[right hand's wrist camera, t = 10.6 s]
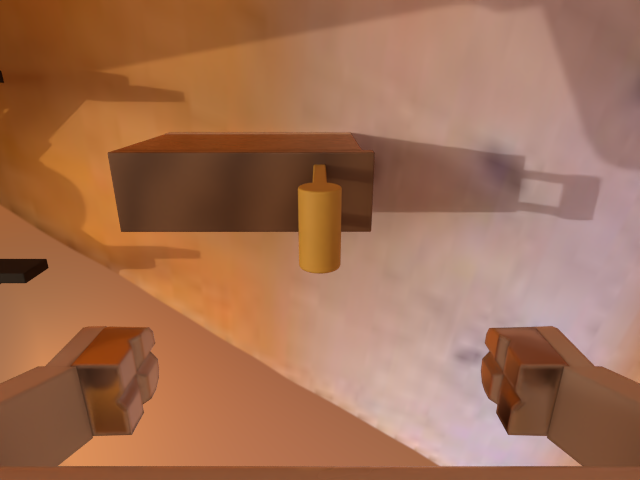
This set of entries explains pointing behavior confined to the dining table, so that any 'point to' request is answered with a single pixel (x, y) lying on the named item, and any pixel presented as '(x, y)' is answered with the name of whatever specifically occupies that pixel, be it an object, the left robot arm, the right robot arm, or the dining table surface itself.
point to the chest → (248, 141)
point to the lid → (249, 194)
